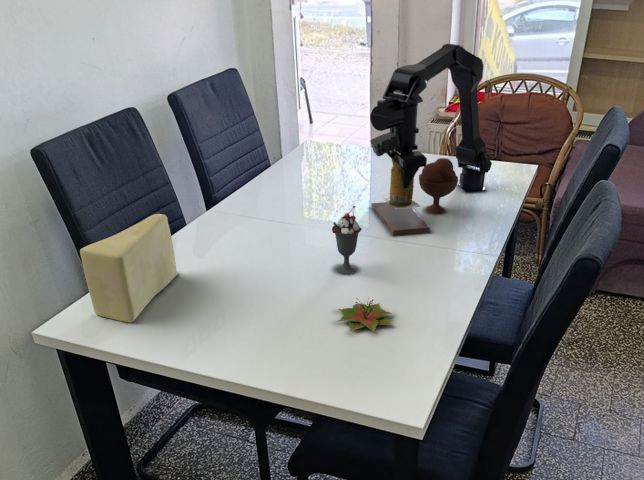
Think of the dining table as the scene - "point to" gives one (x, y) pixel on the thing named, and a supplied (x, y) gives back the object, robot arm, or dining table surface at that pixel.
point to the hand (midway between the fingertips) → (401, 183)
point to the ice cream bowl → (438, 182)
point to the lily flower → (365, 316)
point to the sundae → (346, 240)
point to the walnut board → (400, 219)
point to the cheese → (129, 268)
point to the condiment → (400, 189)
